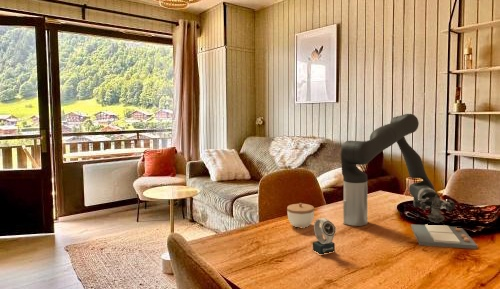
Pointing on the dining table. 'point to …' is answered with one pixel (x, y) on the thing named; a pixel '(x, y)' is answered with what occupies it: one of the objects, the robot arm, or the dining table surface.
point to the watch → (328, 232)
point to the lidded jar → (300, 214)
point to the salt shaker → (435, 211)
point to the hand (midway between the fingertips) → (437, 208)
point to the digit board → (442, 236)
